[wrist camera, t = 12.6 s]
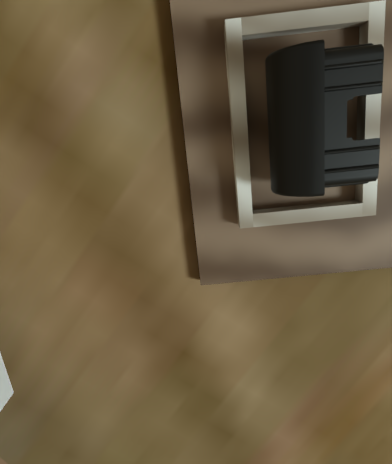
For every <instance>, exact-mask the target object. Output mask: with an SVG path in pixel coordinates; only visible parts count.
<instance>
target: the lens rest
mask: <svg viewBox="0 0 392 464" xmlns="http://www.w3.org/2000/svg"><path fill="white" fill-rule="evenodd" d="M170 9H171V18H172V27H173V36H174V45H175V55H176V64H177V73H178V82H179V91H180V100H181V109H182V118H183V127H184V137H185V146H186V155H187V164H188V173H189V182H190V191H191V200H192V209H193V219H194V228H195V237H196V246H197V255H198V264H199V273H200V282H201V285H209V284H220V283H230V282H241V281H252V280H262V279H273V278H284V277H294V276H305V275H316V274H327V273H337V272H348V271H359V270H369V269H380V268H391V267H392V0H170ZM316 40H324V42H325V49H326V48H334V47H343V46H351V45H359V44H368V43H372V44H374V45H377V44H382V45H383V48H384V65H383V88H382V93H380V94H372V95H363V96H356V97H353V100H348V101H347V138H348V137H352V140H363V139H372V138H380V156H379V175H378V179H377V180H376V181H371V182H368V183H366V184H357V185H348V186H338V187H328V188H325V194H324V196H314V197H291V196H282V195H278V194H275V193H273V192H272V190H271V180H270V158H269V136H268V114H267V91H266V69H265V60H266V57H267V56H268V55H269V54H271V53H272V52H274V51H276V50H279V49H282V48H285V47H288V46H292V45H295V44H300V43H304V42H310V41H316Z"/></svg>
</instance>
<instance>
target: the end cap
mask: <svg viewBox="0 0 392 464" xmlns="http://www.w3.org/2000/svg"><path fill="white" fill-rule="evenodd" d="M383 65H384V48H383V45H382V44H377V45H374V44H372V43H368V44H359V45H351V46H343V47H334V48H326V49H325V42H324V40H316V41H310V42H304V43H300V44H295V45H292V46H288V47H285V48H282V49H279V50H276V51H274V52H272V53H271V54H269V55H268V56H267V57H266V60H265V69H266V91H267V114H268V136H269V158H270V180H271V190H272V192H273V193H275V194H278V195H282V196H291V197H314V196H324V194H325V188H328V187H338V186H348V185H357V184H366V183H368V182H371V181H376V180H377V179H378V175H379V156H380V138H372V139H363V140H352V137H348V138H347V101H348V100H353V97H356V96H363V95H372V94H380V93H382V88H383Z"/></svg>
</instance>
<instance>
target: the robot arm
mask: <svg viewBox="0 0 392 464" xmlns="http://www.w3.org/2000/svg"><path fill="white" fill-rule="evenodd" d="M13 393H14V392H13V389H12V386H11V383H10V380H9V377H8V374H7V371H6V368H5V365H4V362H3V359H2V356H1V353H0V411H1V410H2V408H3V407H4V405H5V404H6V403H7V401H8V400H9V398H10V397H11V396H12V394H13Z"/></svg>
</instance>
